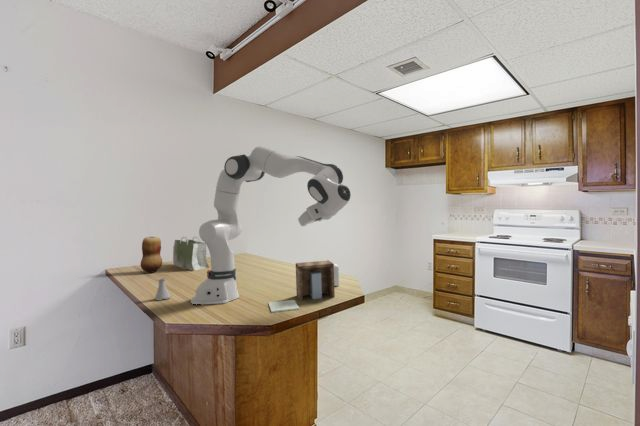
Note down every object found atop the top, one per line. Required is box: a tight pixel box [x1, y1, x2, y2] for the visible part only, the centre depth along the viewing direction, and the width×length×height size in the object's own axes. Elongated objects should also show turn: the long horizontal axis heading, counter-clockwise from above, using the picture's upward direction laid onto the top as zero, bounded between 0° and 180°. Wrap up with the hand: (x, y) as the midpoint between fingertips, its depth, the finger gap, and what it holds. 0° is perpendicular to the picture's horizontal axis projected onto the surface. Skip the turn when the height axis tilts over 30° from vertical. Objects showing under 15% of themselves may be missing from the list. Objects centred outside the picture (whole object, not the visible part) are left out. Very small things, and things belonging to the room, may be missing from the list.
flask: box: [154, 277, 171, 301], centre depth 158 cm, size 7×7×10 cm
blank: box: [310, 271, 323, 300], centre depth 152 cm, size 4×4×12 cm
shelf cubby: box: [295, 259, 336, 302], centre depth 153 cm, size 17×9×16 cm, turn 105°
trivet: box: [268, 299, 300, 314], centre depth 140 cm, size 12×12×1 cm
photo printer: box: [333, 263, 340, 287], centre depth 171 cm, size 10×4×12 cm, turn 103°
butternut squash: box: [140, 236, 163, 273], centre depth 222 cm, size 14×13×25 cm
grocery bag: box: [172, 236, 210, 272], centre depth 237 cm, size 32×14×23 cm, turn 49°
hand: (311, 222), depth 150 cm, fingers open, 8 cm apart
